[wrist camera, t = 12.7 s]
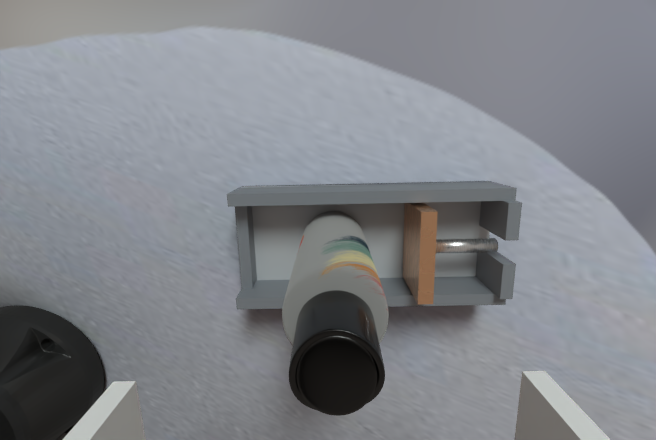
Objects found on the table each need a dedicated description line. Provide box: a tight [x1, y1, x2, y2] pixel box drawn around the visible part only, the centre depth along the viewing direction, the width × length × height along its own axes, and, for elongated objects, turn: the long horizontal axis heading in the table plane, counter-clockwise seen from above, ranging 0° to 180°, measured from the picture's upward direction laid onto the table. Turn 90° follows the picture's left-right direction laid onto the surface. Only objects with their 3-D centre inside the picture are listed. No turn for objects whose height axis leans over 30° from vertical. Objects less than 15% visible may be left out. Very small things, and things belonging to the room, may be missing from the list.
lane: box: [227, 181, 522, 309], centre depth 31 cm, size 23×10×6 cm, turn 91°
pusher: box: [403, 202, 498, 304], centre depth 30 cm, size 7×7×6 cm
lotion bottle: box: [282, 211, 389, 415], centre depth 23 cm, size 6×6×20 cm
